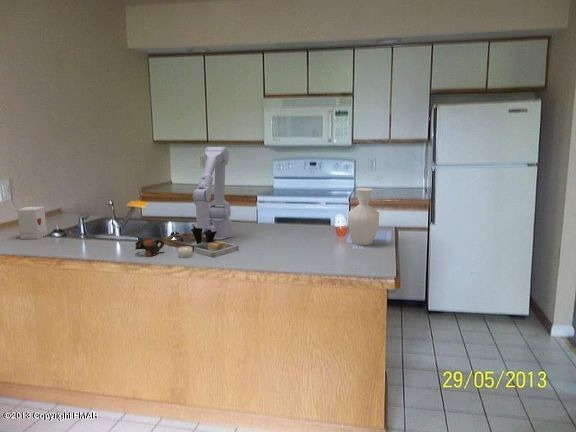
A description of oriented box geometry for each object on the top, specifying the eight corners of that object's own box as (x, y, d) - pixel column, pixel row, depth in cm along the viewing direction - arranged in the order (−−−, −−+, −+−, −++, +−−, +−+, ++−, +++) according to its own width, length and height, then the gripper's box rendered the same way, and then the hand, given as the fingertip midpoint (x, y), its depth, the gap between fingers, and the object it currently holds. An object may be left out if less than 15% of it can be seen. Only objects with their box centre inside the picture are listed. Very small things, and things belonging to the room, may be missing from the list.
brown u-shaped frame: (187, 237, 224) (186, 232, 224) (217, 244, 210) (217, 239, 209) (162, 243, 214) (161, 238, 213) (192, 251, 199) (191, 246, 199)
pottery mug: (139, 259, 190) (132, 241, 191) (140, 263, 199) (133, 246, 200) (167, 249, 194) (160, 231, 195) (167, 253, 203) (160, 236, 204)
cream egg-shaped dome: (186, 253, 197) (186, 245, 197) (195, 255, 193) (195, 247, 193) (175, 256, 193) (174, 248, 192) (184, 259, 189) (183, 250, 188)
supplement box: (38, 239, 224) (34, 209, 221) (20, 239, 224) (16, 209, 221) (48, 234, 233) (44, 206, 230) (30, 234, 233) (27, 206, 230)
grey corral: (220, 245, 209) (220, 241, 208) (238, 249, 201) (238, 245, 201) (195, 252, 198) (194, 247, 198) (213, 257, 190) (213, 252, 190)
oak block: (217, 249, 203) (217, 240, 202) (226, 251, 199) (226, 242, 199) (207, 251, 199) (207, 243, 198) (216, 254, 195) (216, 245, 194)
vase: (342, 244, 207) (343, 190, 202) (353, 237, 219) (354, 186, 214) (373, 248, 201) (374, 192, 195) (382, 241, 213) (384, 188, 208)
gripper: (185, 214, 204) (187, 244, 206) (206, 218, 194) (207, 249, 197) (197, 212, 209) (199, 240, 212) (218, 216, 200) (220, 246, 202)
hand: (204, 244), depth 205 cm, fingers open, 7 cm apart
